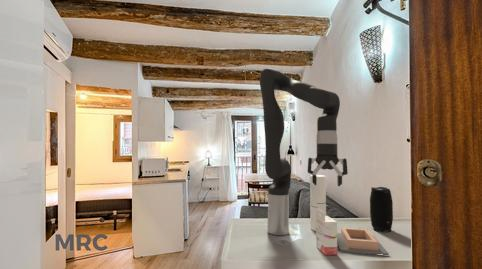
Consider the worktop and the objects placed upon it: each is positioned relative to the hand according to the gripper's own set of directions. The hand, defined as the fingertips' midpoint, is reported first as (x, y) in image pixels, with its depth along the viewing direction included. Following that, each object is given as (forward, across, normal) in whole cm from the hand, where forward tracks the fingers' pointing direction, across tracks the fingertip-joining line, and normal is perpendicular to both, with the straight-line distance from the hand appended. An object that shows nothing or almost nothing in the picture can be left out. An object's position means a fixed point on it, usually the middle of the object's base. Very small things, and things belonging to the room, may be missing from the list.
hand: (327, 185), depth 94 cm
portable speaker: (+24, +28, +31) cm, 48 cm away
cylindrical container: (+24, -2, +24) cm, 34 cm away
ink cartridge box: (+24, 0, -1) cm, 24 cm away
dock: (+24, +13, +8) cm, 28 cm away
